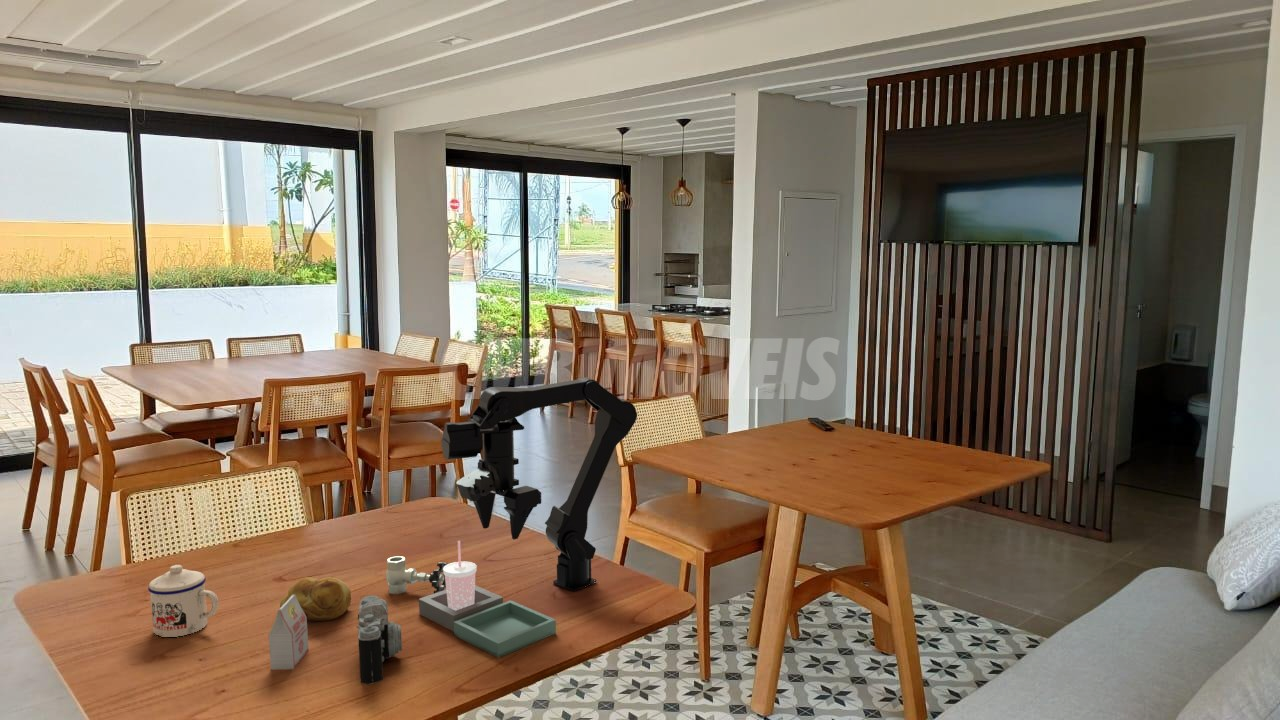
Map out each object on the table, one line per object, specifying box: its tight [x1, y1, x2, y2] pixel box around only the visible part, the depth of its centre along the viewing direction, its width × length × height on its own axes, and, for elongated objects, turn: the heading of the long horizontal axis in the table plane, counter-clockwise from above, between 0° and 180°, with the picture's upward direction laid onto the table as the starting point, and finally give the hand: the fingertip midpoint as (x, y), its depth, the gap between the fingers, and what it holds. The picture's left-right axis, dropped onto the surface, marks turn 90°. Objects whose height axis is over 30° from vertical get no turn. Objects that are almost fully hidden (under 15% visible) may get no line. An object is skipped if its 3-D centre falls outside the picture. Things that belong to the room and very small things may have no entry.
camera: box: [356, 595, 403, 685], centre depth 145 cm, size 15×7×10 cm, turn 16°
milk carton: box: [268, 594, 309, 670], centre depth 146 cm, size 4×7×10 cm, turn 1°
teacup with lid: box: [148, 564, 219, 637], centre depth 158 cm, size 12×9×12 cm
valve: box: [385, 555, 449, 595], centre depth 174 cm, size 7×7×12 cm
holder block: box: [418, 584, 504, 632], centre depth 164 cm, size 11×11×3 cm
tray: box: [453, 600, 557, 659], centre depth 155 cm, size 13×13×2 cm
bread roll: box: [279, 576, 352, 622], centre depth 164 cm, size 13×10×8 cm
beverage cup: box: [442, 540, 478, 611], centre depth 163 cm, size 6×6×14 cm
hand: (500, 533), depth 170 cm, fingers open, 9 cm apart
